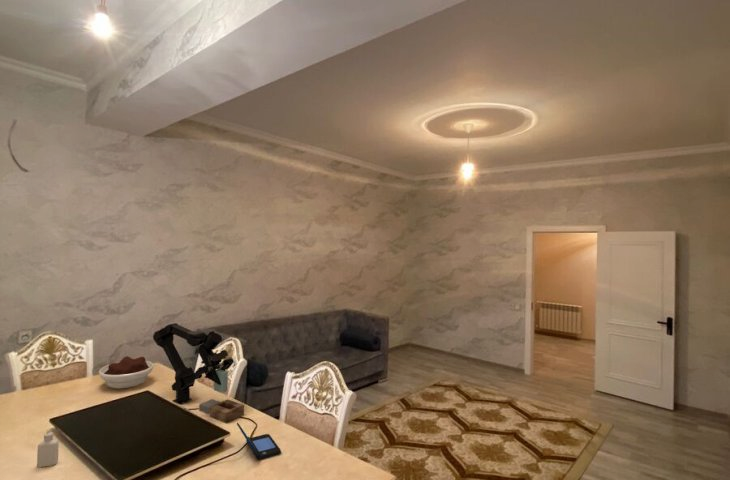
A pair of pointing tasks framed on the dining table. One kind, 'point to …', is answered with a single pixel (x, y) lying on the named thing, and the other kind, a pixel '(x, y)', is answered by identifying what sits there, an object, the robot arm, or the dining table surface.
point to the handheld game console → (262, 445)
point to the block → (223, 379)
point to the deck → (207, 406)
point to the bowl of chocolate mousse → (126, 372)
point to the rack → (226, 411)
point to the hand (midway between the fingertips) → (222, 383)
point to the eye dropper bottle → (47, 450)
